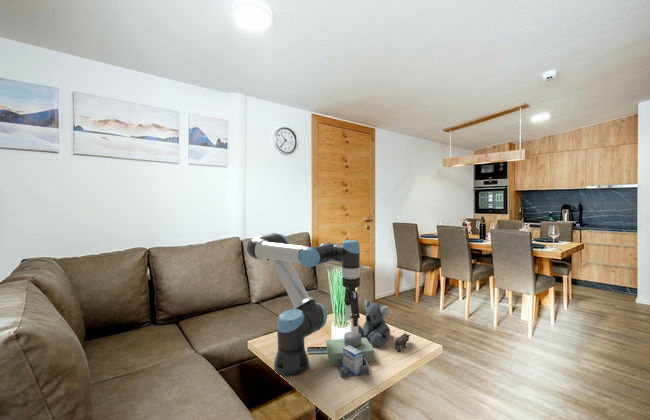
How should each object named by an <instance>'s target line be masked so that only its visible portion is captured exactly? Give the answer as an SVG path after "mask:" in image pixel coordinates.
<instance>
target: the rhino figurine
mask: <svg viewBox="0 0 650 420" xmlns="http://www.w3.org/2000/svg"><path fill="white" fill-rule="evenodd" d="M410 336H411V334H407V333H406V332H404V333H403V334H401V335H400V336H399V337H398V336H397V337H396V338H394V339H395V340H394V344H395V347H394V349H395V350H396V351H397V352H398V353H401V350H400V349H401V347H403V348H404V349H405V348H406V349H407V346H406V345H407V343H408V342H409V341H410Z"/></svg>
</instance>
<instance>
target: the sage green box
mask: <svg viewBox="0 0 650 420" xmlns="http://www.w3.org/2000/svg"><path fill="white" fill-rule="evenodd" d="M343 335H344V336H343V337H344V338H340V339H327V340H326V343H325V344H326V347H325V348H327V351H326V353H327V359H328V362H329V365H332V366H334V365H338V358H343V348H344V347H346V346H349V345H350V346H352V347H354V348H356V349H358V350H360V351H362V356H364V357H365V359H366V361H367V363H368V362H372V363H373V362H374V361H375V350H374V348H373V346H372V345H371V342H370V340H369V339H368V338H366V337H365V338H361V334H360V333H356V334H352V332H351V331H347V332H345V333H344V334H343Z"/></svg>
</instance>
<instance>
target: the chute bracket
mask: <svg viewBox="0 0 650 420" xmlns="http://www.w3.org/2000/svg"><path fill="white" fill-rule="evenodd" d="M336 367H337V370H338V374H339V377H340V378H349V377H360V376H369V375H370V365H369V363H368V362H367V361H366V359H365V357H364V356H363V366H361V372H360V373H359V374H357V375H355V374H353V373H351V372H350V371H348V367H344V368H343V358H338V364H336Z"/></svg>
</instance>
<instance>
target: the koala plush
mask: <svg viewBox="0 0 650 420" xmlns="http://www.w3.org/2000/svg"><path fill="white" fill-rule="evenodd" d="M364 306H365V308H364V309H365V322H364V324H363V327H362V326H361V325H360V324H358V333H360V334H361V338H365V337H366V338H367V339H368V341H370V345H371V346H372V348H373V347H374V348H378V347H380V346H382V345H383V344H385V343H386V342H387V341H388V339H389V337H390V334H391V329H390V327H389V326H388V325H387V323H386V321H385V320H384V318H386V317H387V316H388V315H389V313H390V310H389V306H388V305H385V304H384V305H380V304H379V303H378V302H371V301H370V300H369V299H364Z"/></svg>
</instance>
